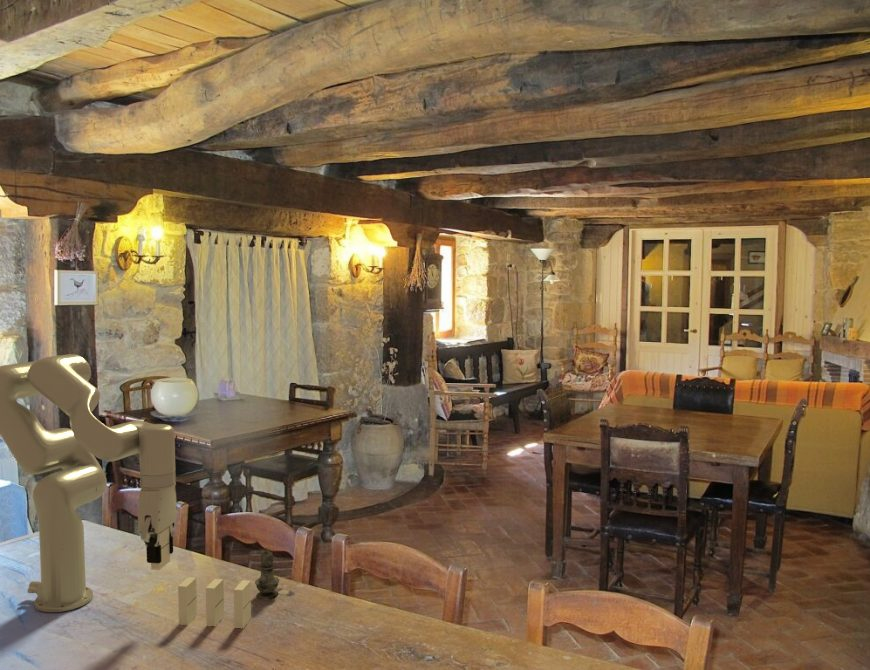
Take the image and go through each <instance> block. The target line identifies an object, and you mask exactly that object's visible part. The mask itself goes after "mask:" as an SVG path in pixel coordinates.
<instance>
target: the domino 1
mask: <svg viewBox="0 0 870 670" xmlns="http://www.w3.org/2000/svg"><path fill="white" fill-rule="evenodd" d="M150 531H151V532H154V531H155V529H151V530H150ZM151 537H153V538H154V539H155V535H151ZM159 545H161V562H160V563H150V569H151V570H156V571H157V570H158V571H160V570H161V569H162V568H164V567H165V566H166V565H167V564H169V563H170V562H171V554H170V548H169V526H168V527H167V528H166V529H164V530H163V531H161V532H160V541H159Z"/></svg>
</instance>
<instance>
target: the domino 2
mask: <svg viewBox="0 0 870 670" xmlns="http://www.w3.org/2000/svg"><path fill="white" fill-rule="evenodd" d="M197 586H198V585H197V577H192V576H191V577H190V576H189V577H186V579H184V580H183V581H182V582H181V583H180V584H178V586H177V588H178V592H177V593H178V594H177V595H178V597H177V598H178V625H180V626H189V624H191V622H192V621H193V620H194V619H195V618H196V617H197V616H198V599H197V597H198V596H197V592H198V591H197ZM196 615H197V616H196ZM195 616H196V617H195ZM194 617H195V618H194ZM193 618H194V619H193ZM192 619H193V620H192Z"/></svg>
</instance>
